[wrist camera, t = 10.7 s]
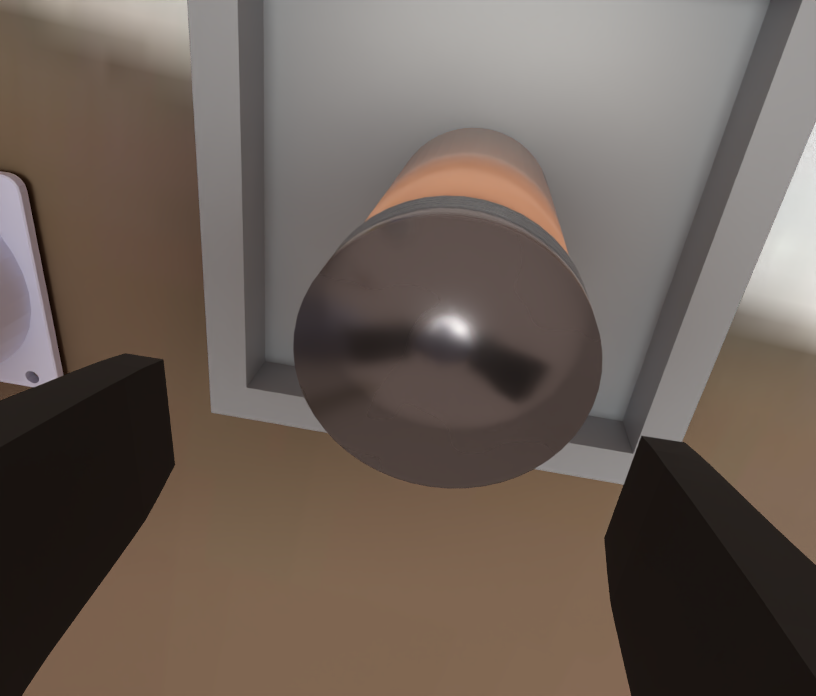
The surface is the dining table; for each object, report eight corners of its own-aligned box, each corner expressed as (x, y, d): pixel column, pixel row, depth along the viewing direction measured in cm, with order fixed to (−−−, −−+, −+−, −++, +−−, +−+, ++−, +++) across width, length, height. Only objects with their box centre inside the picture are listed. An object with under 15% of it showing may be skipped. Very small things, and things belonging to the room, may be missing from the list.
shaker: (386, 276, 18) (296, 466, 10) (394, 115, 16) (289, 201, 8) (538, 294, 18) (567, 506, 10) (569, 131, 15) (637, 238, 8)
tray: (240, 373, 21) (211, 412, 19) (226, -127, 15) (178, -155, 12) (643, 442, 20) (661, 491, 18) (833, -58, 14) (898, -76, 11)
